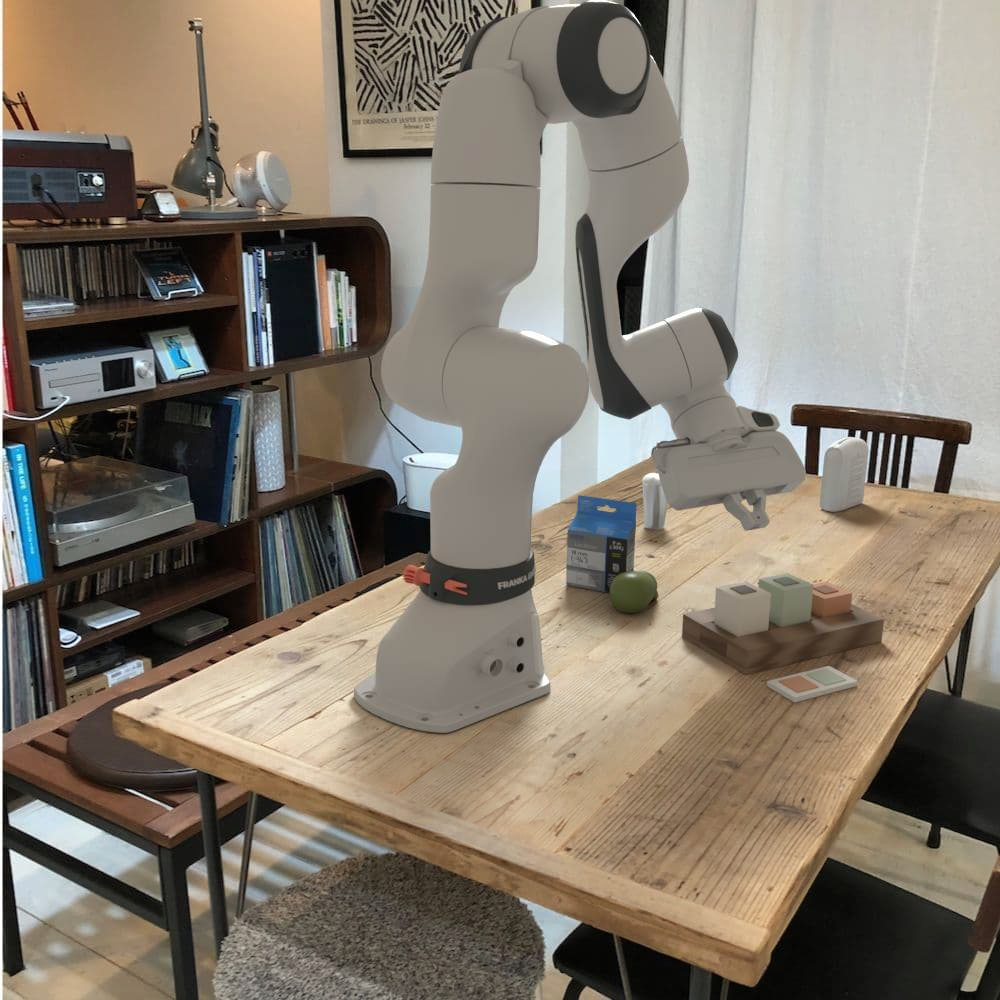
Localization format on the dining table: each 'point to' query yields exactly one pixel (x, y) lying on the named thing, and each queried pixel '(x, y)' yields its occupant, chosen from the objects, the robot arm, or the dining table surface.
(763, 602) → the key ivory
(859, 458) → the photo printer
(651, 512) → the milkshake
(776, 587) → the key sage
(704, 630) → the keypad base
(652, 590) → the pear
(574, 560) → the label tape cartridge
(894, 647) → the dining table surface
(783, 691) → the tile
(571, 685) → the dining table surface
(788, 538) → the dining table surface
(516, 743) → the dining table surface
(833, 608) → the key rust
